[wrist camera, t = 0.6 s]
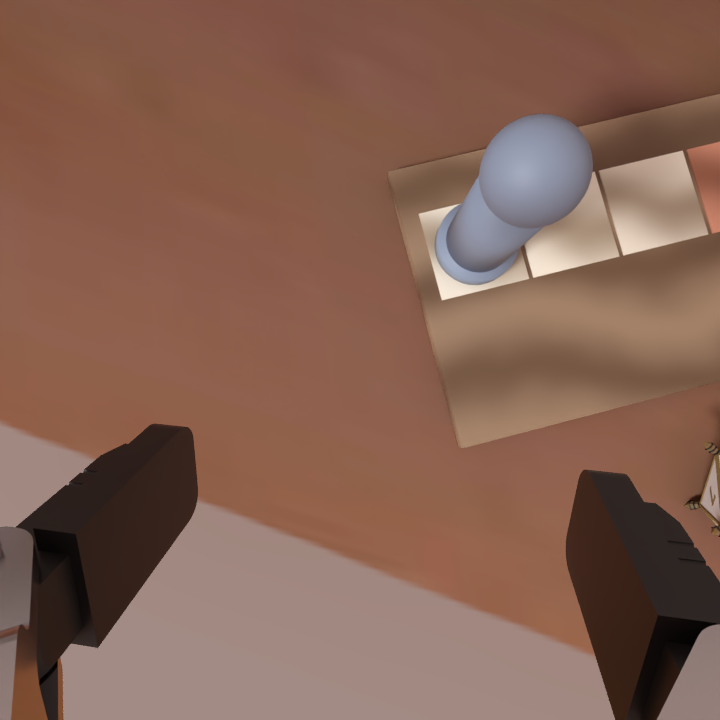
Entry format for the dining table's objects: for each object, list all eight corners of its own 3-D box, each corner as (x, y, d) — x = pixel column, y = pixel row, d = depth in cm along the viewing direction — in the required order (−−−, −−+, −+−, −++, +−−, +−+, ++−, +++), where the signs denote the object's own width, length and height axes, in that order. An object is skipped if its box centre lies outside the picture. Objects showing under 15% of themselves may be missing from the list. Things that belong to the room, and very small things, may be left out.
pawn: (425, 217, 33) (476, 100, 20) (501, 199, 33) (599, 72, 20) (446, 293, 32) (510, 223, 20) (522, 274, 33) (635, 193, 20)
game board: (387, 178, 34) (388, 170, 33) (757, 91, 35) (770, 81, 34) (458, 447, 33) (462, 448, 32) (840, 347, 34) (857, 345, 33)
